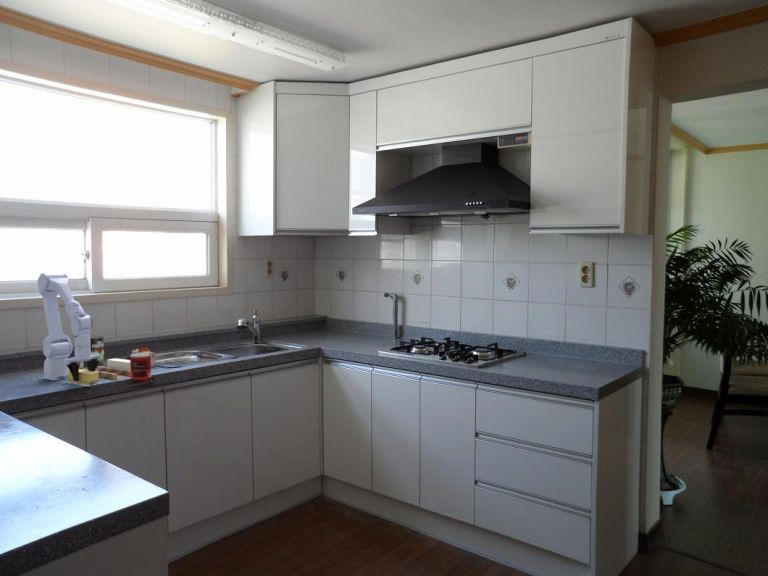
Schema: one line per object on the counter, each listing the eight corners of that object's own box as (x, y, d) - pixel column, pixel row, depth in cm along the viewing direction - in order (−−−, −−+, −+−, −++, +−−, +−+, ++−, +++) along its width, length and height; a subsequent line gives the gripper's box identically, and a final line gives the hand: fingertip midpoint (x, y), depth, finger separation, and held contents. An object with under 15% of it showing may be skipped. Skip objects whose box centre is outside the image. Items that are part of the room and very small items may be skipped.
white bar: (107, 371, 258) (107, 359, 258) (115, 369, 262) (115, 358, 261) (128, 374, 251) (128, 362, 251) (136, 372, 255) (136, 361, 254)
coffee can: (109, 366, 279) (108, 335, 278) (91, 369, 269) (90, 338, 268) (92, 364, 282) (91, 334, 282) (74, 368, 273) (73, 337, 272)
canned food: (144, 378, 250) (144, 352, 250) (154, 381, 245) (154, 354, 245) (127, 381, 244) (126, 354, 244) (137, 384, 239) (136, 356, 239)
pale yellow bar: (68, 382, 243) (67, 370, 243) (77, 380, 247) (77, 368, 246) (89, 386, 236) (89, 373, 236) (98, 384, 240) (98, 372, 239)
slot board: (81, 377, 252) (81, 369, 252) (114, 371, 266) (114, 363, 265) (114, 383, 241) (114, 374, 241) (147, 376, 254) (147, 368, 254)
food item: (158, 370, 269) (157, 348, 269) (140, 372, 264) (140, 350, 263) (145, 366, 279) (144, 345, 279) (128, 368, 273) (127, 346, 273)
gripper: (71, 349, 232) (72, 383, 233) (105, 344, 245) (106, 377, 245) (60, 347, 236) (61, 381, 236) (94, 343, 248) (95, 375, 249)
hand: (83, 379), depth 241 cm, fingers open, 6 cm apart
